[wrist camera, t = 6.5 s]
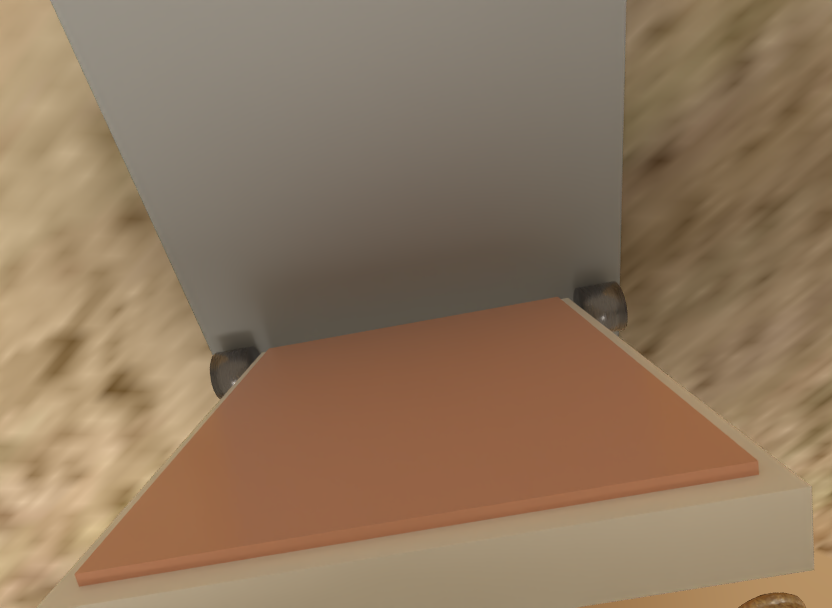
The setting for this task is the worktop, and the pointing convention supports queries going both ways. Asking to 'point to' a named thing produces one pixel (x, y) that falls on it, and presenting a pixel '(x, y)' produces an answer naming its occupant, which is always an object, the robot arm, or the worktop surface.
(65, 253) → the worktop surface
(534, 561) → the tile
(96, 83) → the stand
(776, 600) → the sprinkles bottle
